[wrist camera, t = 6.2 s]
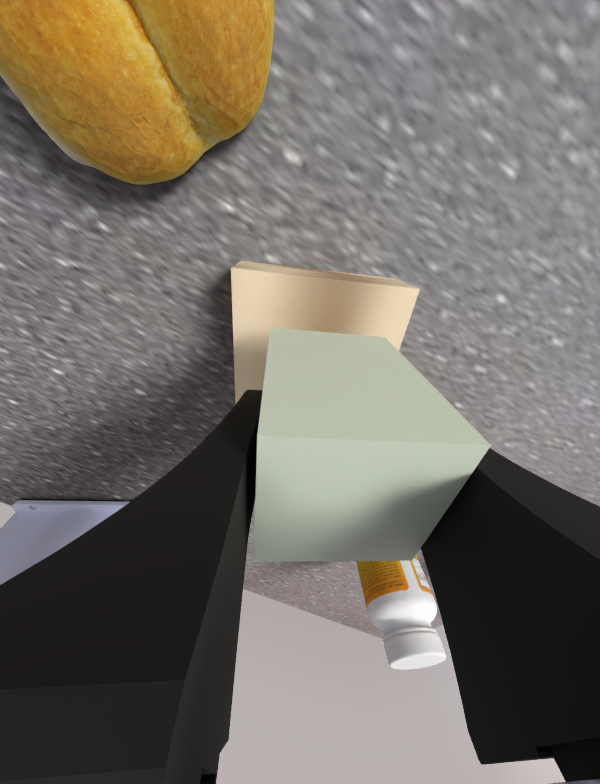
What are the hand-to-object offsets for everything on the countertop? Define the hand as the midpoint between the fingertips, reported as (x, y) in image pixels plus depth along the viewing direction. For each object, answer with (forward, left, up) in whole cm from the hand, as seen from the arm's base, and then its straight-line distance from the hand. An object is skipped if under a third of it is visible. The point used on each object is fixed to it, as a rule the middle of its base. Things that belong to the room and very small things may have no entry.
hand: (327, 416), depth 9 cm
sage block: (0, 0, -2) cm, 2 cm away
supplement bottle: (+9, -19, -7) cm, 22 cm away
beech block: (0, 0, -7) cm, 7 cm away
